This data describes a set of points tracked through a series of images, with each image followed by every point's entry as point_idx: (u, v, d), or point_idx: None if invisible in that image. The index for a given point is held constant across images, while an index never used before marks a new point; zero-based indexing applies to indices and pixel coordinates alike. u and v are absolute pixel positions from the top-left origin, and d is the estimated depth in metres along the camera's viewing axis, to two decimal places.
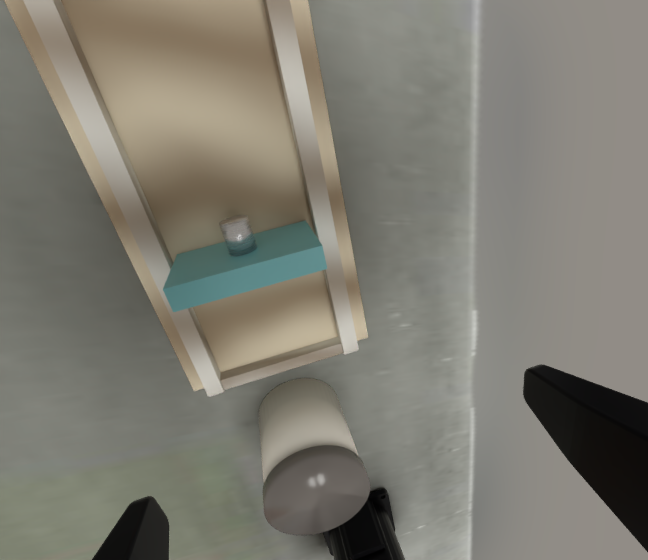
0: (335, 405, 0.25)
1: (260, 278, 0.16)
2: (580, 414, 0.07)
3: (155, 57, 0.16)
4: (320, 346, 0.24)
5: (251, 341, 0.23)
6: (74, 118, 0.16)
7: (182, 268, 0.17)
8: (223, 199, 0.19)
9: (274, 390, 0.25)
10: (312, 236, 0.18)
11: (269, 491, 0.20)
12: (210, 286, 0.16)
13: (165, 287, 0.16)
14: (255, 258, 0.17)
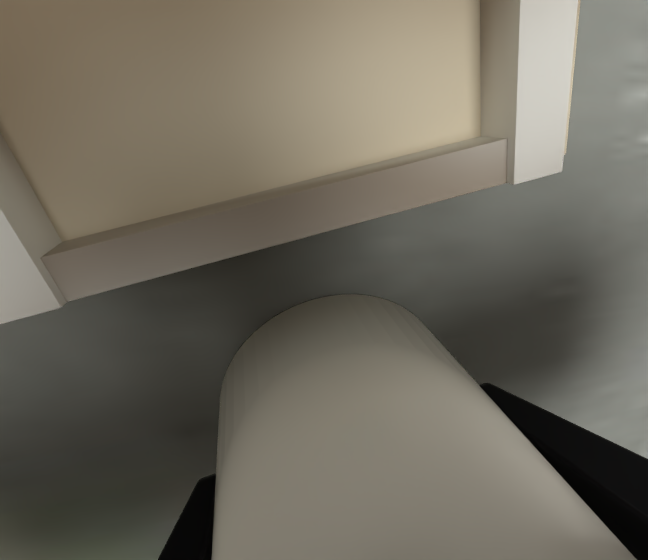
0: (465, 371, 0.07)
1: None
2: None
3: None
4: (428, 154, 0.07)
5: (171, 110, 0.06)
6: None
7: None
8: None
9: (264, 327, 0.08)
10: None
11: None
12: None
13: None
14: None
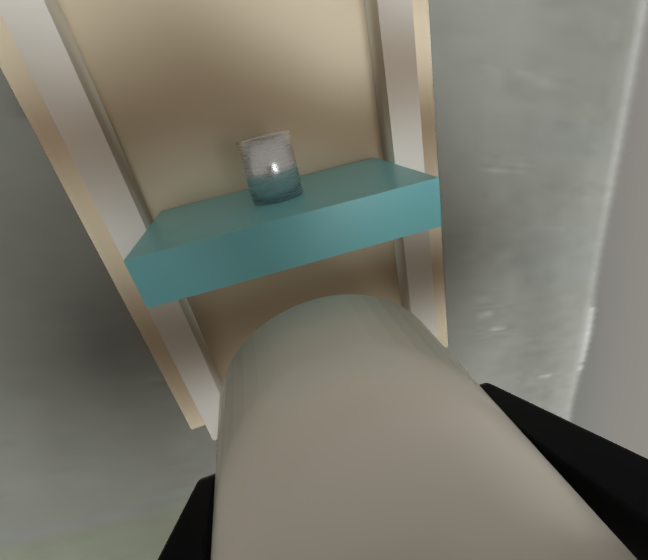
0: (466, 371, 0.07)
1: (318, 242, 0.08)
2: None
3: None
4: None
5: None
6: None
7: (168, 228, 0.09)
8: (240, 115, 0.11)
9: (264, 328, 0.08)
10: (405, 170, 0.10)
11: None
12: (221, 256, 0.08)
13: (128, 257, 0.08)
14: (306, 203, 0.09)
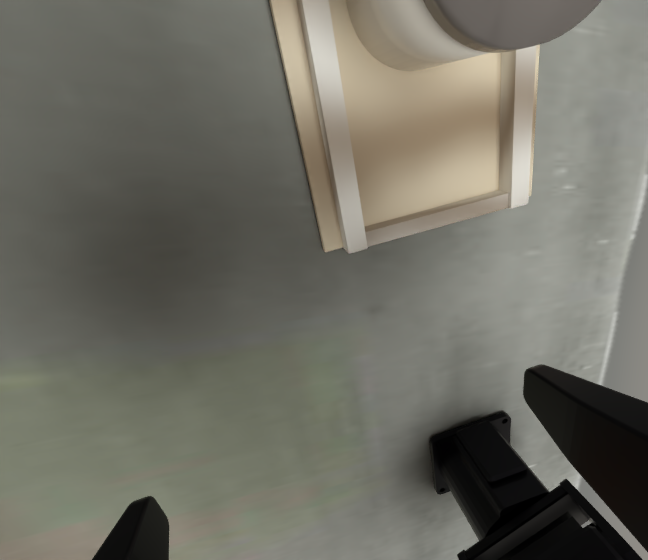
0: None
1: None
2: (580, 414, 0.07)
3: None
4: (481, 198, 0.19)
5: (401, 185, 0.18)
6: None
7: None
8: None
9: None
10: None
11: None
12: None
13: None
14: None
